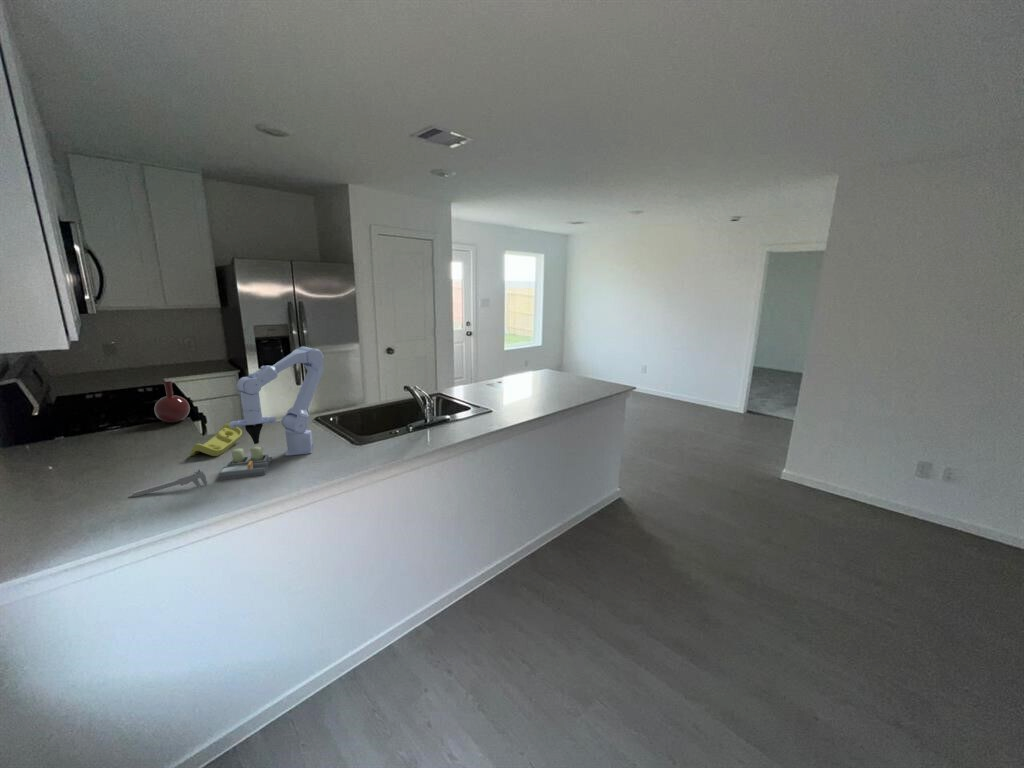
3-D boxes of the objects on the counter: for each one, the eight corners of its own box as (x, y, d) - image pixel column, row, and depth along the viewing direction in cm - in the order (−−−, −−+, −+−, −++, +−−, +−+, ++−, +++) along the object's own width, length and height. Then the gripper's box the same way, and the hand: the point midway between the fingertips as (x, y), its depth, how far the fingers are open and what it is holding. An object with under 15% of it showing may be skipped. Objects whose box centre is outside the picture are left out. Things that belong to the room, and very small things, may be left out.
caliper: (207, 484, 138) (204, 468, 136) (206, 486, 137) (203, 469, 135) (129, 496, 129) (125, 479, 127) (128, 498, 128) (124, 480, 126)
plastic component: (219, 452, 158) (192, 442, 155) (214, 466, 159) (187, 457, 157) (246, 430, 176) (223, 421, 174) (241, 444, 178) (218, 435, 176)
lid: (253, 467, 148) (252, 460, 147) (250, 471, 144) (249, 464, 144) (224, 470, 145) (223, 463, 144) (221, 474, 141) (220, 467, 141)
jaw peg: (235, 462, 151) (233, 448, 150) (246, 461, 152) (244, 447, 151) (232, 466, 148) (230, 452, 147) (243, 465, 149) (241, 451, 148)
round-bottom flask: (181, 425, 190) (174, 385, 185) (150, 426, 187) (142, 385, 183) (197, 417, 202) (191, 378, 198) (168, 417, 200) (160, 379, 195)
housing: (272, 459, 158) (270, 443, 156) (264, 474, 145) (262, 457, 144) (230, 463, 153) (228, 447, 151) (219, 479, 141) (216, 461, 139)
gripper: (275, 403, 155) (279, 436, 158) (230, 408, 148) (235, 441, 152) (273, 409, 149) (278, 442, 152) (227, 413, 142) (232, 448, 146)
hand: (256, 442), depth 151 cm, fingers closed
